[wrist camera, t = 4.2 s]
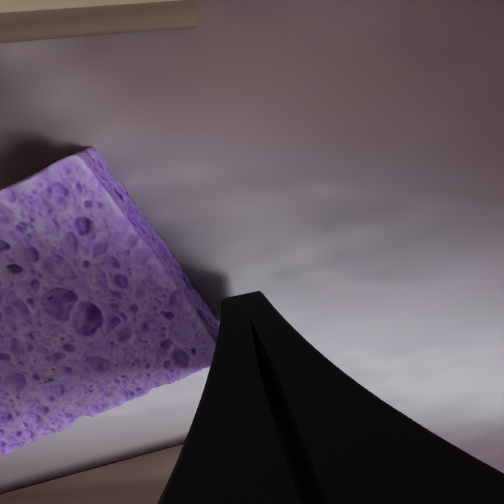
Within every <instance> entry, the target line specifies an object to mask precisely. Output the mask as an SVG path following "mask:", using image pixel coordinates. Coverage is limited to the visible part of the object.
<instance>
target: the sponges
mask: <svg viewBox="0 0 504 504" xmlns="http://www.w3.org/2000/svg"><path fill="white" fill-rule="evenodd" d="M218 332H219V323H218V322H217V321H216V319H215V317H214V315H213V314H212V312H211V311H210V309H209V307H208V306H207V304H206V303H205V302H204V301H203V300H202V298H201V296H200V294H199V293H198V292H197V291H196V290H195V289H194V288H192V286H191V284H190V282H189V278H188V277H187V276H186V275H185V274H184V272H183V270H182V269H181V267H180V265H179V264H178V262H177V261H176V259H175V258H174V257H173V255H172V254H171V252H170V250H169V248H168V247H167V246H166V244H165V243H164V242H163V241H162V239H161V238H160V237H159V236H158V234H157V233H156V231H155V230H154V228H153V227H152V225H151V224H150V223H149V221H148V220H147V219H146V217H145V216H144V215H143V213H142V212H141V211H140V210H139V208H138V207H137V205H136V204H135V202H134V201H133V200H132V199H131V198H130V197H129V196H128V193H127V191H126V189H125V187H124V186H123V185H122V184H121V183H120V182H118V181H117V180H116V178H115V177H114V176H113V175H112V173H111V172H110V170H109V167H108V165H107V163H106V161H105V159H104V158H103V156H102V155H101V154H100V152H99V151H98V150H97V149H96V148H95V147H89V148H87V149H85V150H83V151H80V152H77V153H75V154H73V155H70V156H67V157H65V158H63V159H61V160H59V161H57V162H55V163H53V164H51V165H49V166H48V167H46V168H45V169H43V170H42V171H40V172H38V173H35V174H33V175H31V176H29V177H27V178H25V179H23V180H21V181H19V182H17V183H15V184H13V185H10V186H8V187H6V188H4V189H1V190H0V455H2V456H5V455H7V454H9V453H10V452H11V451H12V450H13V449H14V448H15V447H16V446H17V445H20V446H21V447H22V446H27V445H29V444H30V443H32V442H34V441H38V440H40V439H41V438H45V437H48V436H50V435H52V434H54V433H56V432H59V431H61V430H63V429H66V428H68V427H70V426H71V425H72V424H73V423H74V422H75V421H76V420H78V419H79V418H80V417H82V416H86V415H87V416H95V415H97V414H98V413H101V412H105V411H107V410H109V409H111V408H114V407H117V406H120V405H122V404H123V403H124V402H126V401H128V400H132V399H134V398H136V397H140V396H143V395H145V394H147V393H148V392H149V391H150V390H151V389H152V388H155V387H159V386H162V385H164V384H171V383H173V382H175V381H178V380H181V379H183V378H185V377H187V376H189V375H190V374H192V373H194V372H197V371H200V370H202V369H204V368H207V367H210V366H211V363H212V360H213V356H214V351H215V347H216V342H217V337H218Z"/></svg>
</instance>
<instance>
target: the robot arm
mask: <svg viewBox="0 0 504 504" xmlns="http://www.w3.org/2000/svg"><path fill="white" fill-rule="evenodd" d="M157 504H504V473H502V472H500V471H498V470H497V469H495V468H493V467H491V466H489V465H488V464H486V463H484V462H482V461H480V460H478V459H477V458H475V457H473V456H471V455H470V454H468V453H466V452H465V451H463V450H461V449H459V448H458V447H456V446H454V445H453V444H451V443H449V442H447V441H446V440H444V439H442V438H441V437H439V436H437V435H436V434H434V433H432V432H431V431H429V430H428V429H426V428H424V427H423V426H421V425H420V424H418V423H417V422H415V421H413V420H412V419H410V418H409V417H407V416H406V415H404V414H403V413H401V412H399V411H398V410H396V409H395V408H393V407H392V406H390V405H389V404H387V403H385V402H384V401H382V400H381V399H380V398H378V397H377V396H375V395H374V394H373V393H371V392H370V391H368V390H367V389H366V388H364V387H363V386H361V385H360V384H359V383H357V382H356V381H355V380H353V379H352V378H351V377H349V376H348V375H347V374H345V373H344V372H343V371H342V370H340V369H339V368H338V367H337V366H335V365H334V364H333V363H332V362H330V361H329V360H328V359H327V358H326V357H325V356H323V355H322V354H321V353H320V352H319V351H318V350H317V349H315V348H314V347H313V346H312V345H311V344H310V343H309V342H308V341H307V340H305V339H304V338H303V337H302V336H301V335H300V334H299V333H298V332H297V331H296V330H295V329H294V328H293V327H292V326H291V325H290V324H289V323H288V322H287V321H286V320H285V319H284V318H283V317H282V315H281V314H280V313H279V312H278V311H277V310H276V309H275V308H274V307H273V305H272V304H271V303H270V302H269V301H268V299H267V298H266V297H265V296H264V294H263V293H262V292H260V291H257V292H252V293H247V294H242V295H237V296H232V297H228V298H224V299H223V300H222V301H221V318H220V325H219V332H218V337H217V342H216V347H215V351H214V356H213V360H212V363H211V367H210V370H209V374H208V377H207V381H206V384H205V387H204V391H203V394H202V397H201V400H200V403H199V405H198V408H197V411H196V414H195V417H194V419H193V422H192V425H191V427H190V430H189V432H188V435H187V437H186V440H185V442H184V445H183V447H182V449H181V452H180V454H179V457H178V459H177V462H176V464H175V466H174V469H173V471H172V473H171V475H170V478H169V480H168V482H167V484H166V487H165V489H164V491H163V493H162V495H161V497H160V499H159V501H158V503H157Z"/></svg>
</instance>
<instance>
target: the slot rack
mask: <svg viewBox="0 0 504 504" xmlns="http://www.w3.org/2000/svg"><path fill="white" fill-rule="evenodd" d="M200 4H201V0H0V43H7V42H19V41H31V40H43V39H56V38H68V37H80V36H92V35H104V34H117V33H129V32H141V31H153V30H165V29H178V28H190V27H197V21H198V16H199V10H200ZM183 445H184V444H182V445H178V446H175V447H171V448H167V449H164V450H160V451H156V452H153V453H149V454H145V455H142V456H138V457H134V458H131V459H127V460H124V461H120V462H116V463H113V464H109V465H105V466H102V467H98V468H94V469H91V470H87V471H84V472H80V473H76V474H73V475H69V476H65V477H62V478H58V479H54V480H51V481H47V482H43V483H40V484H36V485H33V486H29V487H25V488H22V489H18V490H14V491H11V492H7V493H3V494H0V504H157V503H158V501H159V499H160V497H161V495H162V493H163V491H164V489H165V487H166V484H167V482H168V480H169V478H170V475H171V473H172V471H173V469H174V466H175V464H176V462H177V459H178V457H179V454H180V452H181V449H182V447H183Z"/></svg>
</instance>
